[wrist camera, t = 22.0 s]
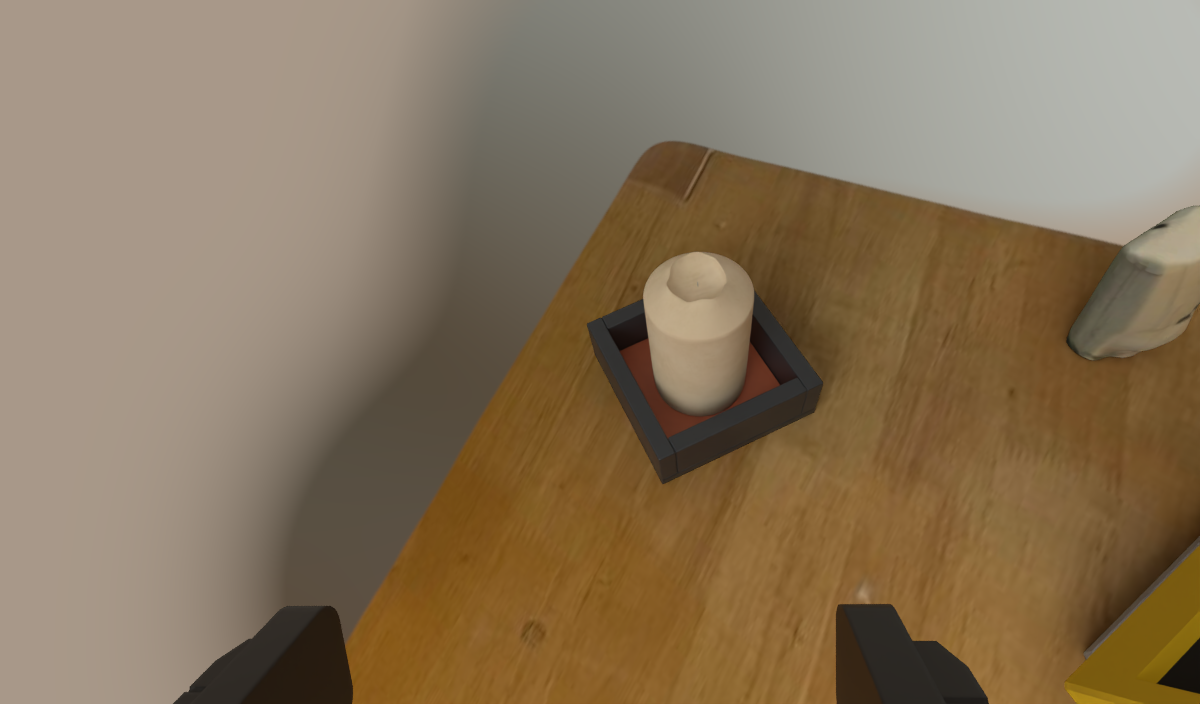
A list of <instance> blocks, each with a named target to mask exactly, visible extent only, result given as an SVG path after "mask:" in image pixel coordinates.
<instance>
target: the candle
mask: <svg viewBox="0 0 1200 704" xmlns="http://www.w3.org/2000/svg"><path fill="white" fill-rule="evenodd" d="M643 301H644V309H645V316H646V324H647V331H648V338H649V346H650V353H651V361H652V368H653V375H654V380H655V385H656V388H657V390H658V392H659V394H660V396H661V397H662V399H663V400H664V401H665V402H666V403H667V404H668V405H669V406H670V407H671V408H673V409H674V410H676V411H678V412H680V413H683V414H686V415H690V416H709V415H714V414H717V413H719V412H722V411H724V410H725V409H727V408H728V407H730V406H731V405H732V404H733V403H734V402H735V401H736V400H737V398H738V397H739V395H740V393H741V391H742V389H743V386H744V383H745V377H746V370H747V360H748V351H749V342H750V333H751V324H752V315H753V305H754V288H753V284H752V281H751V279H750V277H749V276H748V274H747V273H746V272H745V270H744V269H743V268H742V267H741V266H740V265H738V264H737V263H736V262H734V261H732V260H731V259H729V258H727V257H724V256H721V255H718V254H714V253H708V252H692V253H686V254H682V255H678V256H676V257H673V258H671V259H669V260H667V261H665V262H664V263H663V264H661V265H660V266H659V267H658V268H656V269H655V270H654V272H653V273H652V274H651V275H650V277H649V279H648V280H647V283H646V285H645V288H644V294H643Z"/></svg>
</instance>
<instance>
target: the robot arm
mask: <svg viewBox="0 0 1200 704" xmlns="http://www.w3.org/2000/svg"><path fill="white" fill-rule="evenodd" d="M836 698H837V704H989V703H988V698H987V696H986V695H985V693H984V691H983V690H982V688H981V687H980V685H979V684H978V682H977V680H976V679H975V677H974V676H973V674H972V672H971V671H970V669H969V668H968V666H966V665H965V664H964V663H963V662H961V661H960V660H959V659H958V658H956V657H955V656H954V655H953V654H952V653H950V652H949V651H948V650H947V649H945V648H944V647H943V646H942V645H941V644H939V643H938V642H937V641H912V639H911V638H910V636H909V634H908V632H907V630H906V628H905V626H904V625H903V623H902V621H901V619H900V617H899V615H898V613H897V612H896V610H895V608H894V607H893V606H892V605H891V604H839V605H838V607H837V612H836ZM352 700H353V686H352V680H351V675H350V670H349V665H348V659H347V654H346V649H345V644H344V639H343V634H342V629H341V624H340V619H339V616H338V613H337V611H336V610H335V609H334V608H333V607H331V606H287V607H284V608H282V609H280V610H279V611H278V612H277V613H276V614H275V615H274V616H273V617H272V618H271V619H270V621H269V622H268V623H267V624H266V625H265V626H264V627H263V628H262V629H261V630H260V631H259V632H258V633H257V634H256V635H255V636H254V637H253V638H252V639H248V640H246V641H245V642H243V643H242V644H240V645H239V646H237V647H236V648H234V649H233V650H231V651H230V652H228V653H227V654H225V655H224V656H222V657H221V658H219V659H218V660H216V661H215V662H214V663H213V664H212V665H211V666H210V667H209V668H208V669H207V670H206V671H205V672H204V673H203V674H202V675H201V676H200V677H199V678H198V679H197V680H196V681H195V682H194V683H193V684H192V685H191V686H190V690H189V692H184V693H183V694H182V695H181V696H180V698H178V700H176V701H175V702H174V703H173V704H352Z"/></svg>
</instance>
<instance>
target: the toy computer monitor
mask: <svg viewBox="0 0 1200 704" xmlns="http://www.w3.org/2000/svg"><path fill="white" fill-rule="evenodd" d="M1084 656H1085V659H1086V661H1085V662H1084V663H1083V664H1082V665H1081V666H1080V667H1079V668H1078V669H1077V670H1076V671H1075V672H1074V673H1073V674H1072V675H1071V676H1070V677H1069V678H1068V679H1067V680H1066V681H1065V684H1064V685H1065V689H1066V691H1067V692H1068V693H1069V694H1070V696H1071V697H1072V698H1073V699H1074V701H1075V702H1076V703H1077V704H1200V536H1199V537H1198V538H1197V539H1196V540H1195V541H1194V542H1193V543H1192V544H1191V545H1190V546H1189V547H1188V548H1187V549H1186V550H1185V551H1184V552H1183V553H1182V554H1181V555H1180V556H1179V557H1178V558H1177V559H1176V560H1175V561H1174V562H1173V563H1172V564H1171V565H1170V566H1169V567H1168V568H1167V569H1166V570H1165V571H1164V572H1163V573H1162V574H1161V575H1160V576H1159V577H1158V578H1157V579H1156V580H1155V581H1154V582H1153V583H1152V585H1151V586H1150V587H1149V588H1148V589H1147V590H1146V591H1145V592H1144V593H1143V594H1142V595H1141V596H1140V597H1139V598H1138V599H1137V600H1136V601H1135V602H1134V603H1133V604H1132V605H1131V606H1130V607H1129V608H1128V609H1127V610H1126V611H1125V612H1124V613H1123V614H1122V615H1121V616H1120V617H1119V618H1118V619H1117V620H1116V621H1115V622H1114V623H1113V624H1112V625H1111V626H1110V627H1109V628H1108V629H1107V630H1106V631H1105V632H1104V633H1103V634H1102V635H1101V636H1100V637H1099V638H1098V639H1097V640H1096V641H1095V642H1094V643H1093V644H1092V645H1091V646H1090V647H1089V648H1088V649H1087V650H1086V651H1085V652H1084Z"/></svg>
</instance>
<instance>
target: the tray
mask: <svg viewBox="0 0 1200 704" xmlns="http://www.w3.org/2000/svg"><path fill="white" fill-rule="evenodd" d="M587 327H588V331H589V334H590V338H591V341H592V345H593V349H594V353H595V355H596V357H597V359H598V361H599V363H600V365H601V367H602V369H603V371H604V373H605V375H606V376H607V378H608V380H609V382H610V384H611V386H612V388H613V390H614V392H615V394H616V396H617V398H618V399H619V401H620V403H621V405H622V407H623V409H624V411H625V413H626V415H627V417H628V419H629V421H630V422H631V424H632V426H633V428H634V430H635V432H636V434H637V436H638V438H639V440H640V442H641V444H642V446H643V447H644V449H645V451H646V453H647V455H648V457H649V459H650V461H651V463H652V465H653V467H654V469H655V470H656V472H657V474H658V476H659V478H660V480H661V482H662V484H664V483H666V482H668V481H671V480H673V479H675V478H677V477H679V476H681V475H683V474H685V473H687V472H690V471H692V470H694V469H696V468H698V467H700V466H702V465H704V464H706V463H708V462H711V461H713V460H715V459H717V458H719V457H721V456H723V455H725V454H727V453H729V452H732V451H734V450H736V449H738V448H740V447H742V446H744V445H746V444H748V443H750V442H753V441H755V440H757V439H759V438H761V437H763V436H765V435H767V434H769V433H772V432H774V431H776V430H778V429H780V428H782V427H784V426H786V425H788V424H790V423H793V422H795V421H797V420H799V419H801V418H803V417H805V416H807V415H809V414H811V413H814V411H815V407H816V405H817V402H818V398H819V395H820V392H821V389H822V386H823V382H822V380H821V379H820V378H819V376H818V375H817V374H816V372H815V371H814V370H813V368H812V367H811V366H810V364H809V363H808V362H807V360H806V359H805V358H804V356H803V355H802V354H801V352H800V351H799V350H798V348H797V347H796V346H795V344H794V343H793V342H792V340H791V339H790V338H789V336H788V335H787V334H786V332H785V331H784V330H783V328H782V327H781V326H780V324H779V323H778V322H777V320H776V319H775V318H774V316H773V315H772V314H771V312H770V311H769V310H768V308H767V307H766V306H765V304H764V303H763V302H762V300H761V299H760V298H759V296H758V295H757V294H756V292H755V291H754V305H753V315H752V324H751V333H750V342H749V351H748V360H747V370H746V377H745V383H744V386H743V389H742V391H741V393H740V395H739V397H738V398H737V400H736V401H735V402H734V403H733V404H732V405H731V406H730V407H728V408H727V409H725V410H724V411H722V412H719V413H717V414H714V415H709V416H690V415H686V414H683V413H680V412H678V411H676V410H674V409H673V408H671V407H670V406H669V405H668V404H667V403H666V402H665V401H664V400H663V399H662V397H661V396H660V394H659V392H658V390H657V388H656V385H655V380H654V375H653V368H652V361H651V353H650V346H649V338H648V331H647V324H646V316H645V309H644V301H643V299H642V300H640V301H637V302H635V303H633V304H631V305H628V306H626V307H624V308H622V309H619V310H617V311H615V312H612V313H610V314H608V315H606V316H603V317H602V318H599V319H596V320H594V321H592V322H590V323H588V324H587Z"/></svg>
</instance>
